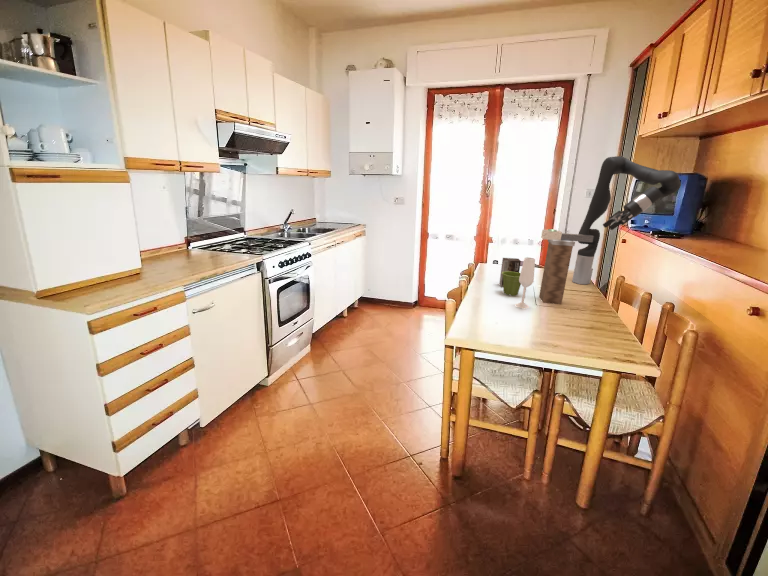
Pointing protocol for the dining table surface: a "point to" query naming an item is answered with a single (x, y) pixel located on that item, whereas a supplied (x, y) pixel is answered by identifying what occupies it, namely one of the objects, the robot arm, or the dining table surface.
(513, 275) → the plant pot
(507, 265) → the coffee box
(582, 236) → the block
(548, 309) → the dining table surface
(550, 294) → the anvil stand
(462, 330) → the dining table surface
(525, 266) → the champagne flute
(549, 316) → the dining table surface
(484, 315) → the dining table surface
